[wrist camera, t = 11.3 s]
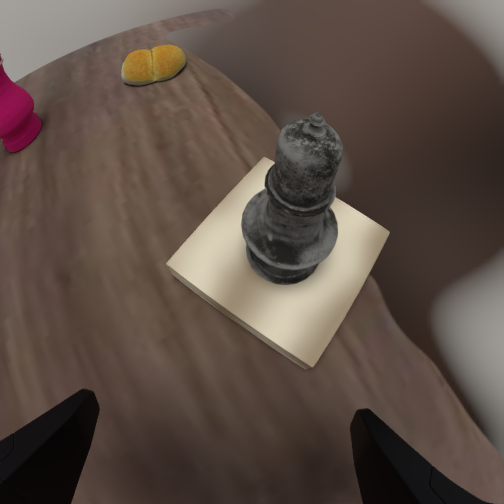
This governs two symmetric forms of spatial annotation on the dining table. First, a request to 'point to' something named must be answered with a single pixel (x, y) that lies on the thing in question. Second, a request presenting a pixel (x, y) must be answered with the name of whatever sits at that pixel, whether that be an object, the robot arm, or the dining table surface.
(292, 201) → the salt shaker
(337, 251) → the plate
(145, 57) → the bread roll
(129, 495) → the dining table surface
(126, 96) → the dining table surface
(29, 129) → the pepper mill
